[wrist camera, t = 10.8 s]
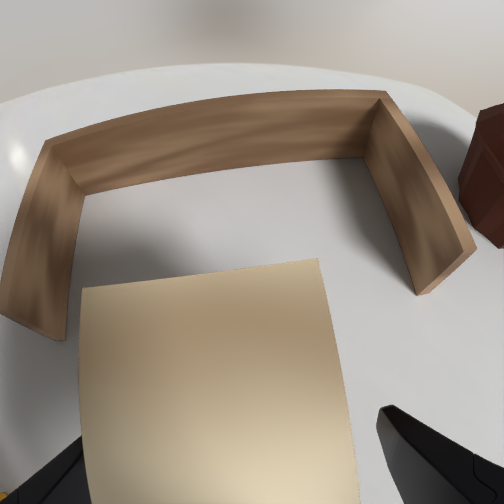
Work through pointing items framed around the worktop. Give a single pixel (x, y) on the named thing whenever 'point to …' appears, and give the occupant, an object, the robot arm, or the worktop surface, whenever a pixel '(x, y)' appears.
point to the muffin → (485, 176)
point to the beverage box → (2, 496)
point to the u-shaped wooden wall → (222, 158)
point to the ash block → (215, 391)
